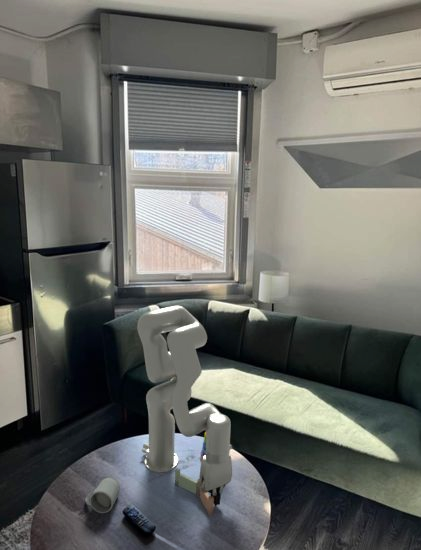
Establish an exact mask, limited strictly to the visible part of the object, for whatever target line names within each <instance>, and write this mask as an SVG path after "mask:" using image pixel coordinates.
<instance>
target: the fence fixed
mask: <svg viewBox="0 0 421 550" xmlns="http://www.w3.org/2000/svg"><path fill="white" fill-rule="evenodd" d="M197 481H198V479H197V480H196V479H195V478H192V477H191V476H188V475H185V474H183V473H181V468H180V467H179V468H177V467H175V468H174V486H176V487H177V486H179V487H180V488H183V489H184V490H187V491H189V492H191V493H193V494H195V495H197Z"/></svg>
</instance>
